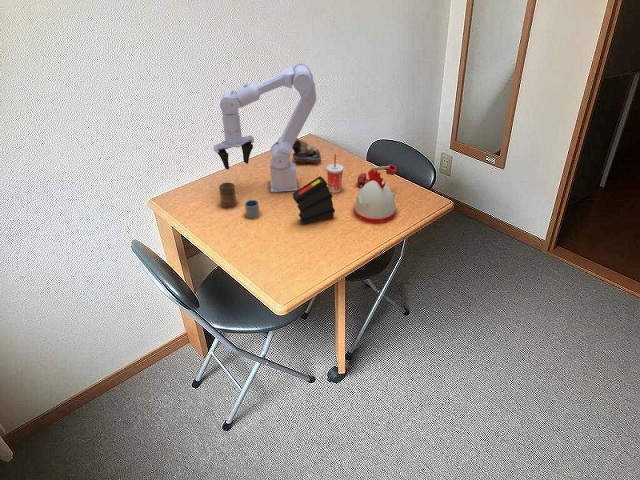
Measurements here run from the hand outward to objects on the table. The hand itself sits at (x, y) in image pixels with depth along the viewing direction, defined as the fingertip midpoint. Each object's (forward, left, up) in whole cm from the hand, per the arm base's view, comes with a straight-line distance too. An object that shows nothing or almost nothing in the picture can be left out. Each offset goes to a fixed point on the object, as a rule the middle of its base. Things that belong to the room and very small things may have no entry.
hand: (236, 165), depth 172 cm
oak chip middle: (+4, +11, -7) cm, 13 cm away
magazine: (-24, +25, -10) cm, 36 cm away
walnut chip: (+4, +11, -5) cm, 12 cm away
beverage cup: (-34, +6, -10) cm, 36 cm away
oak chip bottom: (+4, +11, -10) cm, 15 cm away
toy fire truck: (-49, +7, -10) cm, 51 cm away
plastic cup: (-4, +19, -10) cm, 21 cm away
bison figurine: (-54, -22, +18) cm, 61 cm away
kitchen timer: (-45, +23, -10) cm, 52 cm away
